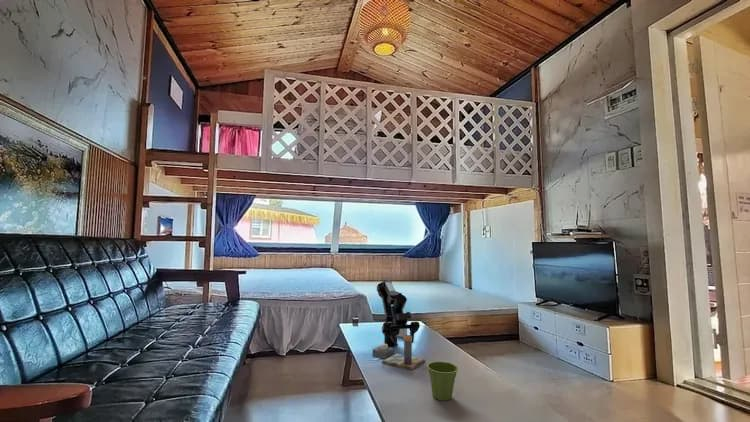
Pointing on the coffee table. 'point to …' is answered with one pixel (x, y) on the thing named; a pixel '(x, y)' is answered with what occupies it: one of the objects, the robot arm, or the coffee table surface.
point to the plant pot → (442, 379)
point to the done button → (383, 347)
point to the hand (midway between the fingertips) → (403, 342)
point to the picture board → (399, 361)
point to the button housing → (383, 352)
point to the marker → (407, 349)
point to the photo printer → (402, 332)
